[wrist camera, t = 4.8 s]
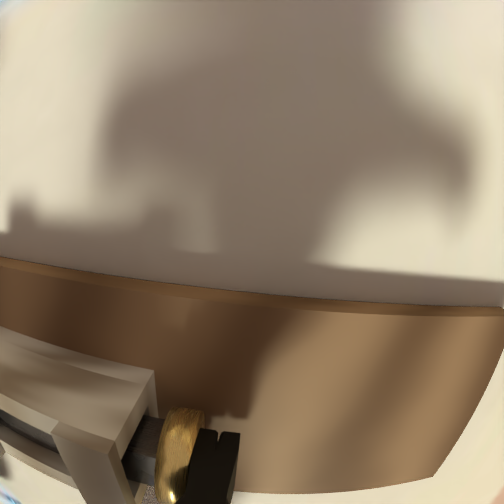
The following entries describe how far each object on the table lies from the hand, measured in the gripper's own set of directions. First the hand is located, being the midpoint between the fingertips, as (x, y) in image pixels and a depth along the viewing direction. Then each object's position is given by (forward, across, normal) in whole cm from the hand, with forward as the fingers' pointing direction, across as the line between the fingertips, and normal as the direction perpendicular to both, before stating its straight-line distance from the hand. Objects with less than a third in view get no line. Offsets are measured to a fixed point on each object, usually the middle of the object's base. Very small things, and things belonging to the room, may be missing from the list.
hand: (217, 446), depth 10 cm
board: (+3, 0, 0) cm, 3 cm away
